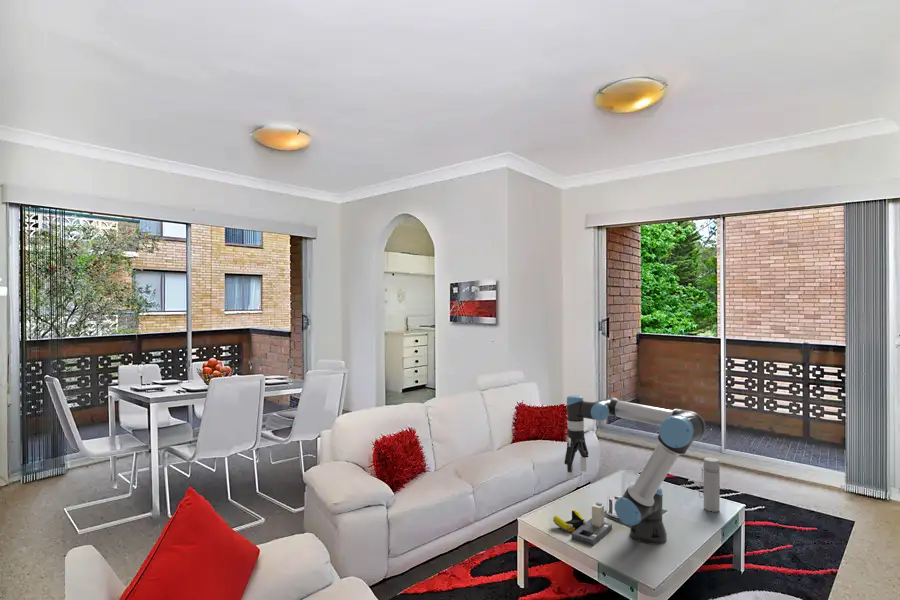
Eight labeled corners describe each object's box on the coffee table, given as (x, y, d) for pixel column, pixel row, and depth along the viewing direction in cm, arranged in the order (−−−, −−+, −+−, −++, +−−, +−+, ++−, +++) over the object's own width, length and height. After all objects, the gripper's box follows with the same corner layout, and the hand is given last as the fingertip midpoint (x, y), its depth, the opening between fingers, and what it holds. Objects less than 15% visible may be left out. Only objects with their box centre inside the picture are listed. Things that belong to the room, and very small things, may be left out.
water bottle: (720, 508, 262) (720, 458, 262) (718, 513, 256) (719, 462, 256) (700, 504, 267) (700, 455, 267) (698, 509, 261) (698, 459, 260)
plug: (603, 529, 240) (603, 503, 240) (600, 532, 237) (600, 506, 236) (595, 526, 242) (595, 501, 242) (591, 529, 239) (591, 504, 239)
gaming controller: (551, 527, 242) (566, 535, 234) (551, 515, 242) (566, 523, 234) (574, 519, 250) (590, 527, 242) (574, 508, 250) (590, 515, 242)
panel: (612, 529, 239) (612, 523, 239) (592, 545, 224) (592, 539, 224) (591, 523, 246) (591, 517, 246) (571, 538, 230) (571, 532, 230)
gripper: (580, 423, 256) (581, 466, 256) (555, 433, 237) (557, 480, 236) (594, 425, 251) (596, 469, 251) (571, 435, 232) (572, 483, 232)
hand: (577, 475), depth 244 cm, fingers open, 13 cm apart
